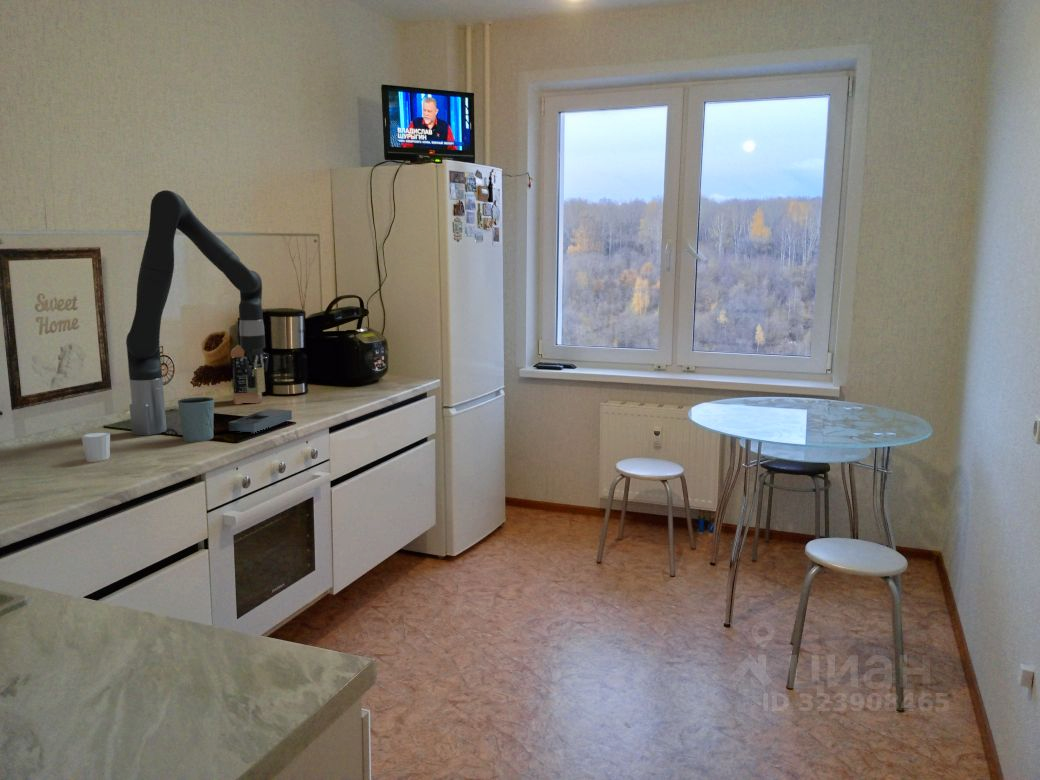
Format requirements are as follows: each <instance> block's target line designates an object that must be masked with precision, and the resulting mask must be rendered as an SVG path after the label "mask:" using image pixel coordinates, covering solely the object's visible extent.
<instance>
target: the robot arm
mask: <svg viewBox="0 0 1040 780" xmlns="http://www.w3.org/2000/svg"><path fill="white" fill-rule="evenodd" d="M149 210H150V213H149V224H148V225H149V226H148V233H147V238H146V242H145V245H144V249H143V254H142V257H141V262H140V266H139V271H138V276H137V283H136V284H137V285H136V300H135V301H136V305H135V311H134V312H135V313H134V315H133V319H132V320H133V321H132V323H131V327H130V330H129V332H128V333H127V335H126V339H125V341H126V342H125V344H126V352H127V366H128V367H127V368H128V376H129V386H130V388H129V389H130V398H131V403H130V404H129V414H130V415H129V417H130V426H131V435H135V436H136V435H137V436H151V435H159V434H162V432H163V433H165V432H167V420H166V407H165V395H164V384H163V383H164V382H163V370H162V368H163V367H162V362H161V361H162V359H161V347H160V345H161V344H160V343H161V342H160V338H161V337H160V336H161V335H160V334H161V324H162V317H163V312H164V309H165V307H166V304H167V300H168V297H169V293H170V290H171V286H172V281H173V276H174V272H175V271H174V270H175V236H176V233H177V230H178V231H180V232H181V233H182V234H183V235H184V236H186V237H187V238H188V239H189V240H190V241H191V242H192V243H193V244H194V245H195V247H196V248H197V249H198V250H199V251H200V252H201V254H203V256H204V257H205V258H206V259H207V260H209V262H211V264H213V266H214V267H216V268H217V269H218V270H219V271H220V272H222V274H223V275H224V277H226V278H227V279H228V281H229V282H230V283H231V284H232V286H234V287H235V289H237V290H238V291H239V298H240V301H239V304H238V315H239V316H238V318H239V319H240V324H239V330H240V344H241V349H243V350H244V357H243V358H239V359H238V361H239V365H240V368H241V372H242V375H245V376H247V381H248V387H249V388H255V377H254V375H255V372H254V370H255V369H256V367H264V373H265V372H267V371H268V368H269V367H268V366H269V357H270V354H269V352H268V353H267V352H264V350H263V349H265V348H266V336H265V334H266V333H265V324H264V318H263V316H264V315H263V306H262V299H263V298H262V297H263V281H262V278H261V276H260V275H259V273H257V272H256V271H254V270H251V269H249V268H248V267H247V265H245V264H244V263H243V262H242V261H241V260H240V258H239V256H238V255H237V254H236V253H235V252H234V251H233V250H232V249H231V248H230V247H229V246H228V245H227V244H226V243H225V242H224V241H222V240H221V239H220V238H219V237H218V236H216V235H215V234H214V233H213V231H211V230H210V229H209V228H207V226H205V224H203V223H202V221H201V220H200V219H199V218H198V217H197V216H196V215H195V213H194V212H193V211H192V209H191V208H190V206H189V205H188V204H187V203H186V201H185V200H184V198H183V197H182V196H181V195H180V194H178V193H176V192H174V191H171V190H160V191H158V192H157V193H155V194H154V196H153V197H152V199H151V202H150V209H149ZM249 366H252V367H249ZM245 369H246V372H245ZM250 369H251V371H250Z"/></svg>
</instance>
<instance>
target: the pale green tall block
mask: <svg viewBox="0 0 1040 780" xmlns="http://www.w3.org/2000/svg"><path fill="white" fill-rule="evenodd" d="M250 371H251V369H250ZM254 372H255V375H254V377H255V388H249V387H248V381H247V376H246V382H247V393H261V392H262V393H264V392H266V383H265V380H266V379H265V372H264V366H263V367H256V369H255V370H254Z"/></svg>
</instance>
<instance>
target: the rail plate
mask: <svg viewBox="0 0 1040 780" xmlns="http://www.w3.org/2000/svg"><path fill="white" fill-rule="evenodd" d="M292 414H293V413H292V410H291V409H278V408H277V409H276V408H275V409H274V408H267V409H263V410H260V411H258V412H255V413H252V414H249V415H246V416H243V417H241V418H237V419H235V420H231V421H228V431H240V432H239V433H242V432H251V433H250V434H256V433H258V432H257V431H259V432H261V431H260V430H262V431H264V430H266V428H267V429H269V428H272V427H274V426H277V425H279V424H282V423H284V422H285V423H286V422H287V420H288V421H291V420H292V419H293V415H292ZM268 427H269V428H268ZM263 429H264V430H263ZM255 432H256V433H255Z"/></svg>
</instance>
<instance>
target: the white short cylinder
mask: <svg viewBox="0 0 1040 780" xmlns="http://www.w3.org/2000/svg"><path fill="white" fill-rule="evenodd" d="M81 442H82V445H83V451H84V455H85V460H87V461H86V462H88V461H92V462H91V463H95V462H94V461H99V462H102V461H101V460H105V459H108V458H109V457H111V455H110V453H111V433H110V432H108V431H107V432H106V431H98V432H97V431H96V432H89V433H85V434H83V435H81ZM109 459H110V458H109ZM109 459H108V460H109ZM105 461H106V460H105Z"/></svg>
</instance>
